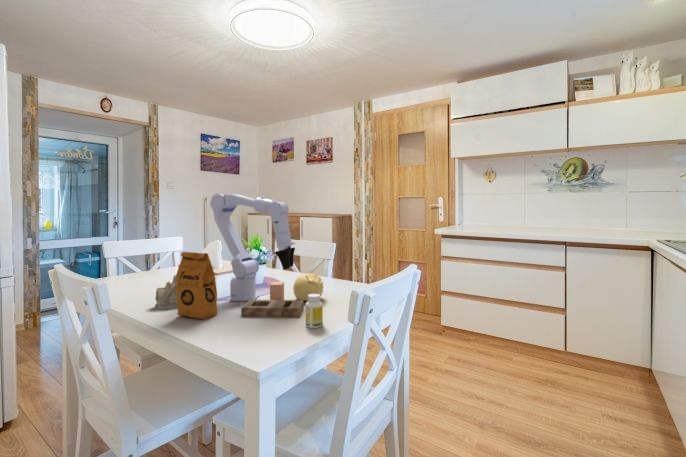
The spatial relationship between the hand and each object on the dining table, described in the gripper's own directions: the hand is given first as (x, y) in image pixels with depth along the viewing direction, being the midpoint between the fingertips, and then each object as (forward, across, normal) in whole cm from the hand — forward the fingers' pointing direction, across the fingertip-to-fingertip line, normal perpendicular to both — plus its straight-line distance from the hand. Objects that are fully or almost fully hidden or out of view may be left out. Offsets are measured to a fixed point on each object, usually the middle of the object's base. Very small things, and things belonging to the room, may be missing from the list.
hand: (288, 267), depth 135 cm
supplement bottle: (+18, -23, -9) cm, 30 cm away
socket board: (+14, -10, +6) cm, 18 cm away
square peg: (+13, +1, +7) cm, 15 cm away
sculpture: (+15, +7, -4) cm, 17 cm away
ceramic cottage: (+6, +1, +46) cm, 46 cm away
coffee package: (+10, -15, +31) cm, 35 cm away
